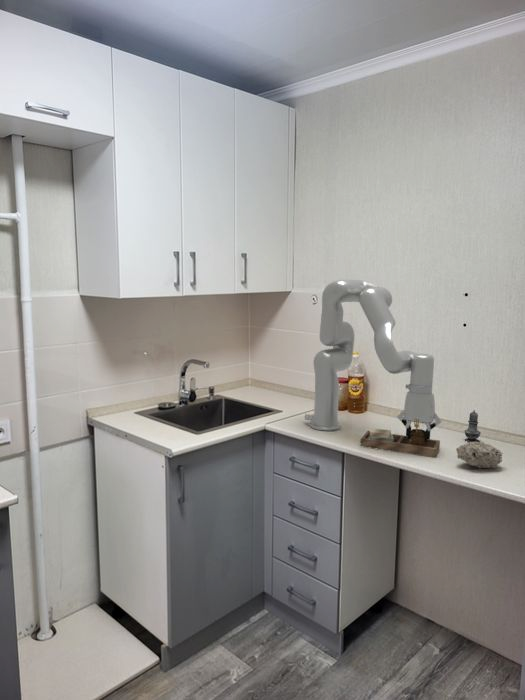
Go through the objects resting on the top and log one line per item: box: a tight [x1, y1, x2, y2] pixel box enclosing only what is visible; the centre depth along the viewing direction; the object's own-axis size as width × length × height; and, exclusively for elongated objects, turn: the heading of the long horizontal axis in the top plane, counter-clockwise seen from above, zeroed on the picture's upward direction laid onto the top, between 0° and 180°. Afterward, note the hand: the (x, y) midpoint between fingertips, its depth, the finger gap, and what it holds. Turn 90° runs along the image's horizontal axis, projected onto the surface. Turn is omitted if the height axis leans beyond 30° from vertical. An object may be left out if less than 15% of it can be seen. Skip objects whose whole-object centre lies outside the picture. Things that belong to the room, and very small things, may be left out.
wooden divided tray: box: [360, 430, 441, 458], centre depth 193 cm, size 26×11×3 cm, turn 66°
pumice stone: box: [456, 441, 503, 469], centre depth 175 cm, size 14×12×8 cm
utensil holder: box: [409, 419, 427, 447], centre depth 190 cm, size 6×6×12 cm
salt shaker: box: [463, 409, 481, 443], centre depth 203 cm, size 6×6×12 cm
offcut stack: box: [368, 427, 394, 442], centre depth 196 cm, size 9×7×5 cm
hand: (417, 439), depth 191 cm, fingers closed on utensil holder, 5 cm apart
